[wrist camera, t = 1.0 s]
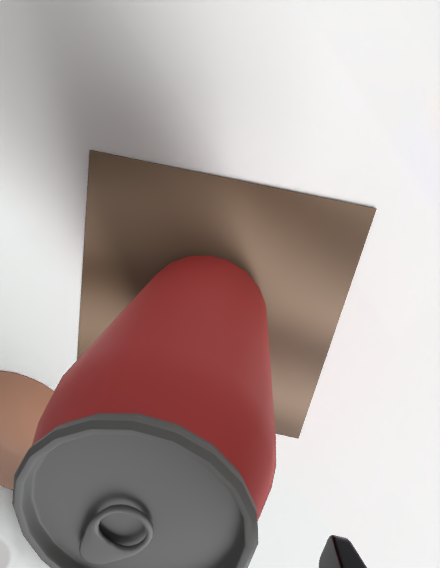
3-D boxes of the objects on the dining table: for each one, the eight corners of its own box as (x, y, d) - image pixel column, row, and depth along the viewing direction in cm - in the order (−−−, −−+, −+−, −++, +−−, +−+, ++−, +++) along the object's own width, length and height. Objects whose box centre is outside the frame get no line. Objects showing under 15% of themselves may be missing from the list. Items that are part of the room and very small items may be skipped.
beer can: (123, 312, 19) (-62, 517, 8) (198, 225, 17) (91, 335, 6) (211, 383, 20) (157, 656, 9) (292, 308, 18) (352, 538, 7)
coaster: (86, 498, 25) (82, 506, 25) (-45, 467, 26) (-52, 474, 25) (95, 385, 22) (91, 391, 21) (-55, 351, 22) (-63, 356, 22)
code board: (297, 431, 22) (298, 438, 21) (80, 382, 22) (75, 388, 21) (372, 207, 17) (376, 208, 16) (95, 150, 17) (89, 150, 17)
